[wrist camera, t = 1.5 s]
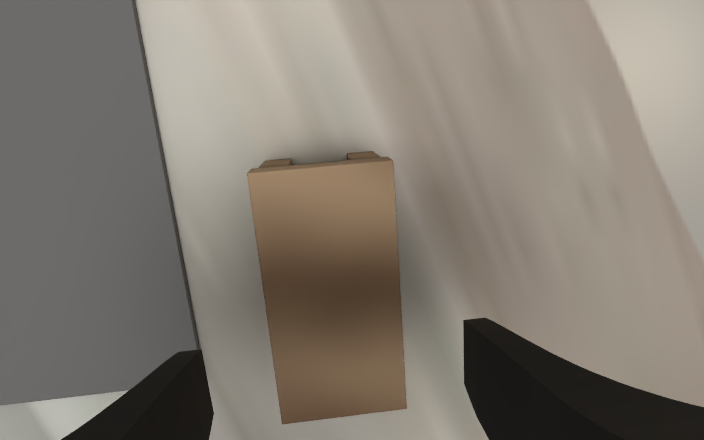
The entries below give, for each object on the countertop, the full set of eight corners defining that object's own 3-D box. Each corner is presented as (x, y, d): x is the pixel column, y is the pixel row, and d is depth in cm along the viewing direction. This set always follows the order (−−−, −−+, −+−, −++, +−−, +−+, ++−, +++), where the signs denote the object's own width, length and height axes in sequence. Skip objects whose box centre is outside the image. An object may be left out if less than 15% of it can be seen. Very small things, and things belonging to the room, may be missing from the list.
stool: (384, 338, 23) (406, 408, 18) (289, 349, 23) (282, 424, 17) (372, 147, 21) (393, 160, 15) (264, 156, 20) (247, 173, 15)
